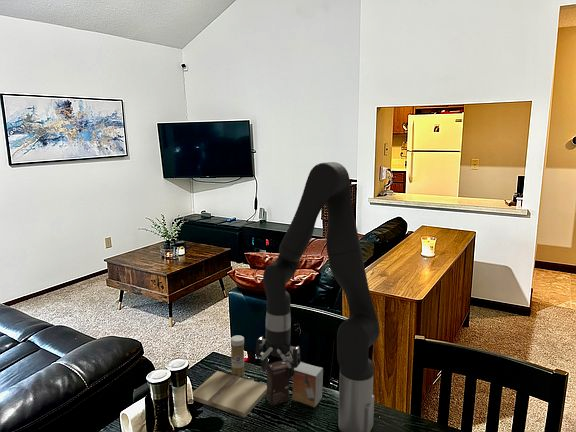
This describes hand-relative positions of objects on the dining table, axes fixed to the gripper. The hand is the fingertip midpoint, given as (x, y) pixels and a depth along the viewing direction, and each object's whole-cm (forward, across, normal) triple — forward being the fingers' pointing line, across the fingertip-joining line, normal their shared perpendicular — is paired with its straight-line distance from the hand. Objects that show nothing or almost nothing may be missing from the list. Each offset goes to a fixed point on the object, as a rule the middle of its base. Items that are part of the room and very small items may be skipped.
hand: (277, 373), depth 129 cm
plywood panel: (+9, +14, +4) cm, 18 cm away
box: (+9, -1, 0) cm, 9 cm away
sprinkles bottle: (+10, +18, -6) cm, 22 cm away
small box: (+9, -8, -4) cm, 13 cm away
